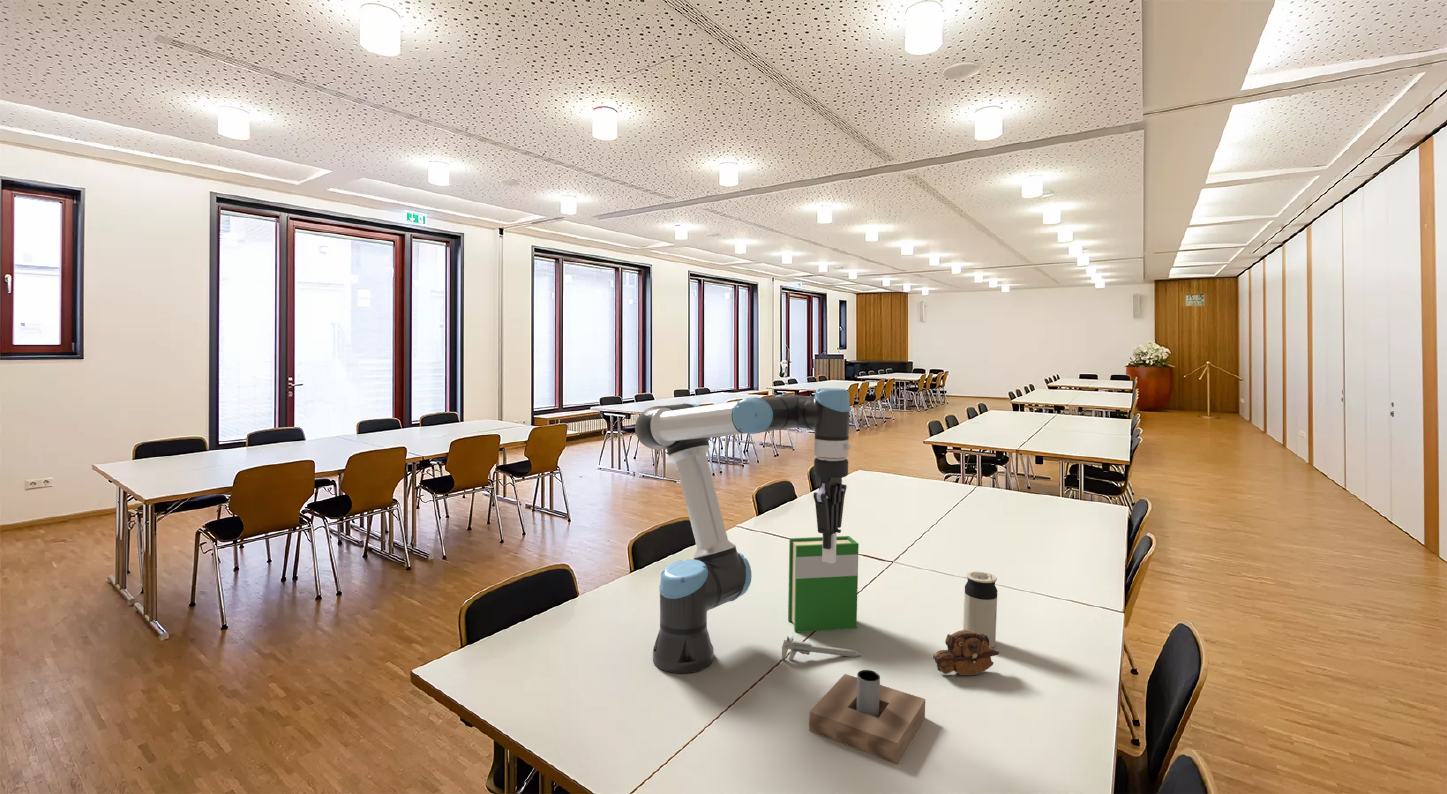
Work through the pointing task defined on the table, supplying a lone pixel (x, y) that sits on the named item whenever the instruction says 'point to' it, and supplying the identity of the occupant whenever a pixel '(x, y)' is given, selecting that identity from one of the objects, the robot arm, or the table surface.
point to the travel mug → (981, 605)
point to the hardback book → (822, 585)
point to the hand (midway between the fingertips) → (828, 561)
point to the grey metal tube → (868, 692)
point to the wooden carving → (965, 653)
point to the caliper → (812, 649)
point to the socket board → (868, 719)
